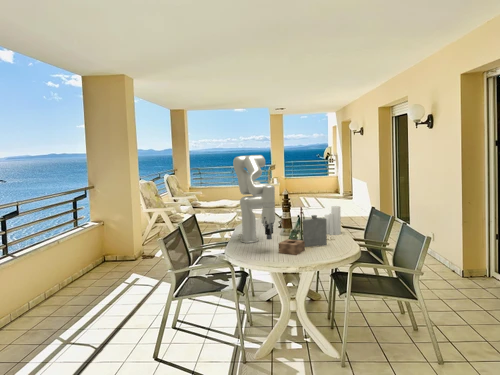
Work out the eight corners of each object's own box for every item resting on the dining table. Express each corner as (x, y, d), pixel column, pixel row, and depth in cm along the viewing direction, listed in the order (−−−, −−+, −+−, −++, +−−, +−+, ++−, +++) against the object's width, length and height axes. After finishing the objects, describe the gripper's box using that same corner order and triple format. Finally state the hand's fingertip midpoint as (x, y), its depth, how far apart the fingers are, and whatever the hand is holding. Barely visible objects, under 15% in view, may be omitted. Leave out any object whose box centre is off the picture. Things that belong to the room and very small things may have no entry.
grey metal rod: (265, 239, 245) (265, 220, 244) (268, 238, 248) (267, 219, 246) (270, 239, 244) (269, 220, 242) (272, 238, 246) (272, 219, 245)
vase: (339, 232, 293) (339, 206, 291) (341, 234, 286) (341, 207, 284) (324, 233, 293) (323, 206, 291) (326, 235, 286) (325, 208, 284)
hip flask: (304, 247, 254) (303, 216, 252) (302, 245, 258) (301, 215, 256) (327, 245, 257) (327, 215, 255) (325, 243, 261) (324, 214, 259)
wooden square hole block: (278, 252, 243) (278, 243, 242) (287, 248, 253) (287, 239, 252) (296, 255, 236) (296, 245, 236) (304, 250, 246) (304, 240, 246)
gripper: (269, 202, 252) (270, 230, 254) (256, 206, 238) (257, 236, 241) (280, 203, 248) (280, 231, 250) (267, 207, 234) (268, 237, 237)
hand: (269, 233), depth 245 cm, fingers closed on grey metal rod, 3 cm apart
